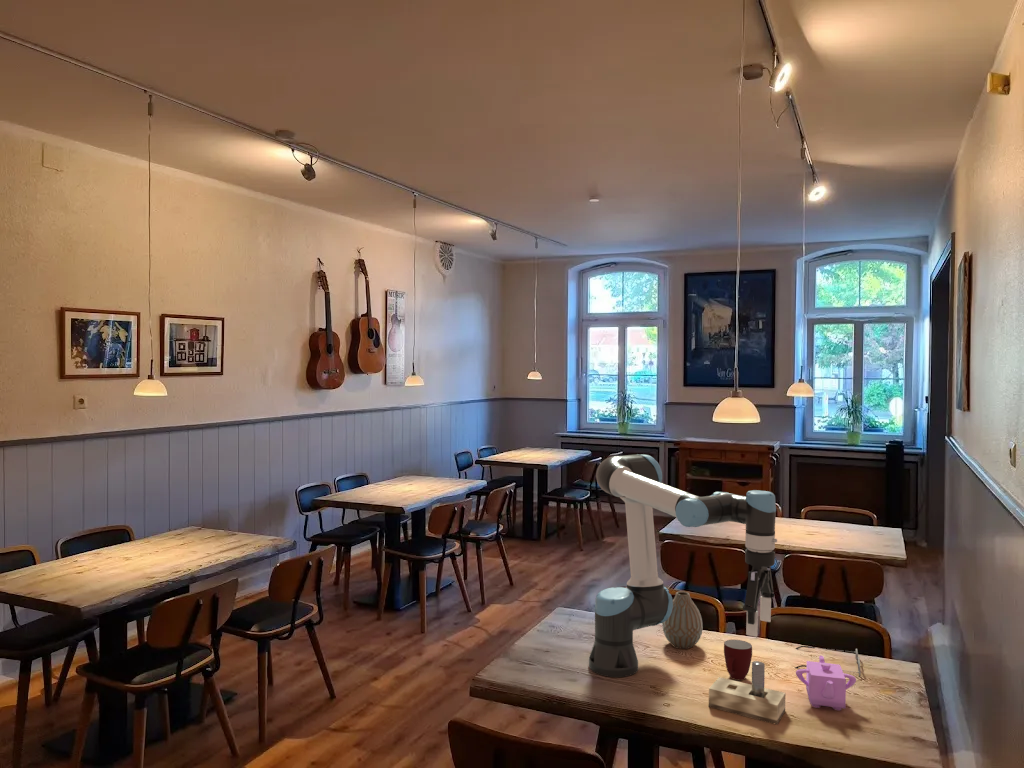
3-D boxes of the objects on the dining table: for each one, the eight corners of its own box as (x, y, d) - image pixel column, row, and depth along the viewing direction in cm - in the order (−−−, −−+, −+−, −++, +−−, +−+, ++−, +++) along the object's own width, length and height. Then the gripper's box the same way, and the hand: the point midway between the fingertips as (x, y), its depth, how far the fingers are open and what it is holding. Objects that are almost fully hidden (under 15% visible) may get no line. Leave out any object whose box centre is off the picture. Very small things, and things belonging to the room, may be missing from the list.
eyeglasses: (861, 679, 218) (861, 666, 218) (794, 671, 225) (794, 658, 225) (857, 658, 235) (857, 646, 235) (795, 651, 242) (794, 639, 242)
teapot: (866, 710, 197) (866, 670, 197) (830, 719, 191) (830, 678, 191) (820, 688, 211) (821, 650, 211) (786, 696, 205) (786, 658, 205)
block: (708, 706, 198) (708, 688, 198) (718, 694, 206) (719, 677, 206) (777, 724, 188) (777, 705, 188) (785, 711, 196) (785, 692, 196)
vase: (706, 653, 237) (707, 599, 236) (666, 652, 237) (667, 598, 237) (697, 638, 250) (697, 587, 250) (658, 637, 250) (659, 587, 250)
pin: (750, 708, 195) (750, 664, 195) (753, 704, 198) (753, 660, 198) (762, 711, 193) (762, 666, 193) (765, 707, 196) (766, 663, 196)
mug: (745, 688, 210) (745, 654, 210) (717, 682, 214) (718, 648, 214) (754, 676, 219) (755, 642, 219) (727, 669, 223) (728, 637, 223)
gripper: (762, 561, 182) (760, 645, 183) (785, 542, 203) (784, 617, 204) (732, 556, 186) (730, 639, 187) (758, 538, 207) (756, 612, 208)
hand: (758, 628), depth 195 cm, fingers open, 13 cm apart
